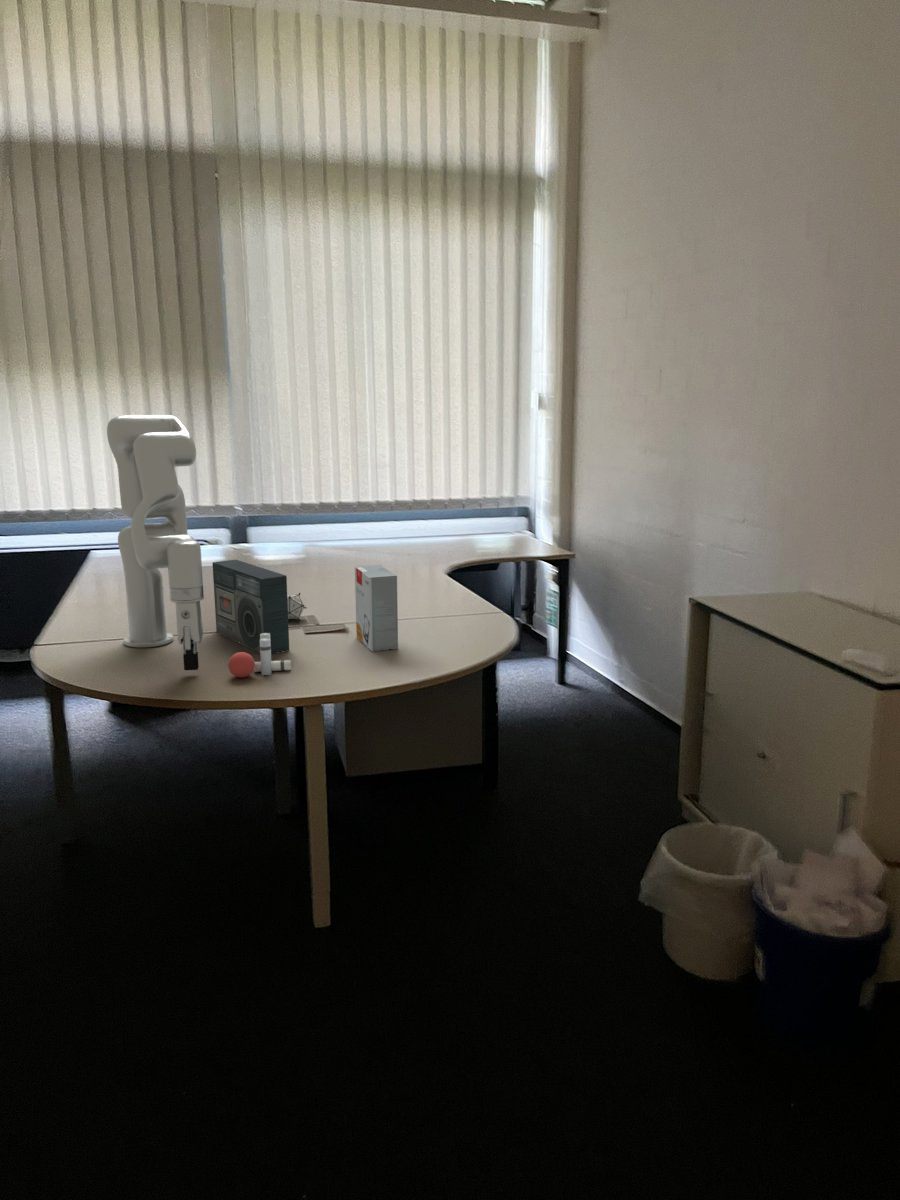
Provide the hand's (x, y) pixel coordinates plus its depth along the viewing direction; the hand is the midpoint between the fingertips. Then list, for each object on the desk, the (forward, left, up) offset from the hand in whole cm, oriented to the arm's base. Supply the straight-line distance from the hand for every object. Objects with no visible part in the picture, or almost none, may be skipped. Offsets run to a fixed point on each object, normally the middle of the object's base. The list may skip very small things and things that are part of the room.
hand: (191, 669), depth 210 cm
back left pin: (+4, +17, -2) cm, 18 cm away
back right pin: (+9, +15, -2) cm, 18 cm away
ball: (+8, +10, +2) cm, 12 cm away
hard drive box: (-1, +50, -2) cm, 50 cm away
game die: (-37, +41, -2) cm, 56 cm away
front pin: (+5, +14, 0) cm, 15 cm away
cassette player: (-21, +23, -2) cm, 31 cm away
